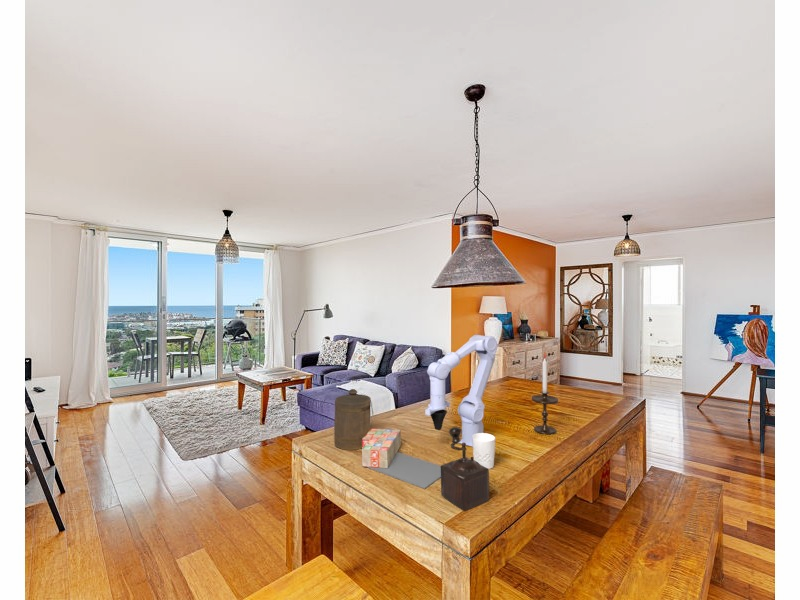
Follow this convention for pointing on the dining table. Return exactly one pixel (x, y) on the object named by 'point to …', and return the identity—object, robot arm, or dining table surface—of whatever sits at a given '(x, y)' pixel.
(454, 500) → the coffee grinder
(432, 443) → the dining table surface
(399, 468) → the mat
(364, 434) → the wooden container
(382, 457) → the stack of blocks
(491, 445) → the white cup
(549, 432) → the candlestick
